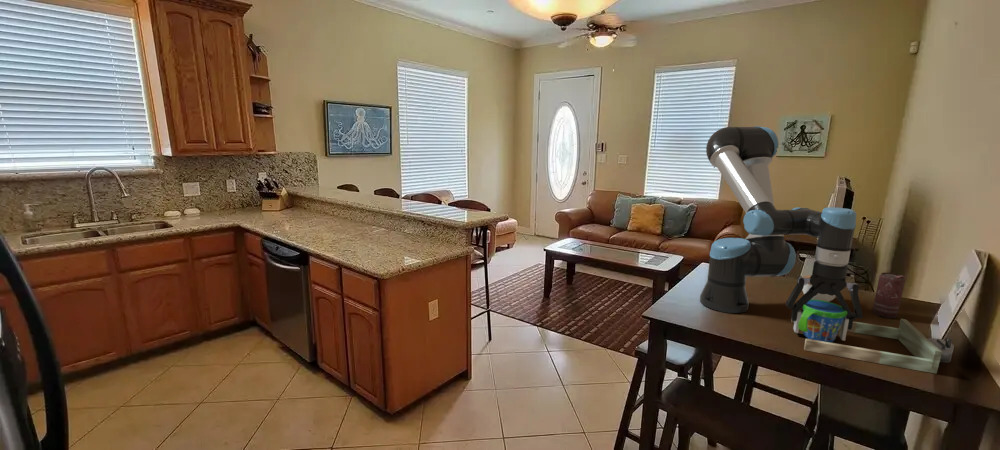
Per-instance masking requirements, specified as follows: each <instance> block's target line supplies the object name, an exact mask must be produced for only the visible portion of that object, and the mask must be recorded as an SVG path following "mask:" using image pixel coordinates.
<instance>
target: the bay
mask: <svg viewBox="0 0 1000 450" xmlns="http://www.w3.org/2000/svg"><path fill="white" fill-rule="evenodd" d="M801 315H802V313H801ZM790 322H791V324H794V322H795V321H792V319H790ZM840 329H841V326H840ZM840 329H839V331H840ZM847 332H849V333H856V334H862V335H868V336H875V337H880V338H887V339H895V340H898V341H899V342H900V343H901V344H902V345H903V346H904V347H905V348H906V349H907V351H909V352H910V354H911V355H907V354H906V355H905V354H900V353H893V352H889V351H882V350H876V349H870V348H865V347H859V346H858V347H857V346H852V345H846V344H841V343H835V342H831V343H829V342H824V341H818V340H812V339H809V338H804V339H805V340H804V346H803V349H804V351H806V352H807V351H808V352H813V353H819V354H825V355H829V356H834V357H841V358H846V359H851V360H852V359H853V360H858V361H863V362H869V363H874V364H881V365H886V366H891V367H897V368H902V369H907V370H914V371H919V372H926V373H930V374H937V373H938V370H939V365H940V363H941V362H940V358H941V354H942V351H940V350H939V349H938V348H937V347H936V346H935V345H934V344H933V343H932V342H931V341H929V340H928V338H927V337H926V336H925V335H924V334H923V333H922V332H920V331H919V329H917V328H916V327H915V326H914V325H913V324H912V323H910V321H908V320H907V319H905V318H900V320H899V324H898V327H894V326H893V327H892V326H886V325H881V324H880V325H879V324H873V323H867V322H866V323H865V322H861V321H858V322H857V321H853V325H852V329H851V330H850V329H847ZM912 355H913V356H912Z"/></svg>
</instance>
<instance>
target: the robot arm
mask: <svg viewBox="0 0 1000 450" xmlns="http://www.w3.org/2000/svg"><path fill="white" fill-rule="evenodd" d="M778 148H779V138H778V136H777V134H776V133H775V131H774V130H773V129H771V128H769V127H765V126H757V125H755V126H725V127H723V128H720V129H718V130H716V131H715V132H714V133H712V135H711V136H710V137H709V139H708V140H707V144H706V148H705V151H706V157H707V159H708V161H709V163H710V164H711V165H712V166H713V167H714V168H717V169H718V171H719V172H720V174H721V176H722V178H723V179H724V181H725V182H726V184H727V185H728V187H729V189H730V191H731V193H733V195H734V197H735V198H736V199H737V202H738V203H739V205H740V206H741V208H742V209H743V210H744V212H745V214H744V216H743V221H742V222H743V223H742V224H744V225H743V227H744V228H743V229H744V230H745V231H746V232H747V233H748V235H747V236H746V237H745V238H742V237H725V238H719V239H716V240H715V241H714V242H713V243H711V247H710V251H709V263H708V270H707V271H708V272H707V273H708V274H707V281H706V283H705V285H704V287H703V289H702V290H701V293H700V294H699V295H700V296H699V303H700V302H701V303H702V304H703V305H702V304H701V305H702V306H704V305H705V306H704V307H706V306H707V307H706V308H708V307H709V308H708V309H710V308H711V310H713V309H714V311H716V310H718V311H717V312H722V313H729V314H741V313H745V312H747V311H748V310H749V307H750V305H749V304H750V303H749V299H748V294H747V289H746V281H747V277H750V278H752V277H778V276H779V277H780V276H785V275H787V274H789V273H790V272H791V271H792V269H793V268H794V266H795V263H796V258H797V257H796V256H797V254H796V251H795V249H794V246H792V244H791V243H790V242H787V241H785V236H789V235H790V236H794V235H795V236H796V235H800V236H802V235H806V236H810V237H813V238H817V243H816V249H815V255H814V259H815V261H813V267H812V273H811V275H812V276H811V277H810V278H803V277H804V276H801V275H799V276H798V277H797V282H796V283H797V284H796V285H795V286H794V288H793V290H792V291H791V293H790V295H789V297H787V299H786V301H785V306H786V308H787V309H790V310H791V316H790V318H791V319H792V321H795V322H794V323H793V331H794V333H796V334H799V330H800V329H799V328H798V323H799V321H800V318H801V314H802V307H803V305H805V304H806V303H807V302H808V301H809V300H811V299H812V298H813V297H814V296H816V295H817V294H818V293H820V294H828V295H832V296H833V295H835V296H836V297H835V298H836V299H837V301H838V303H839V305H840V306H842V308H843V309H844V310H845V311H847V315H846V316H845V317H844V318H843V321H842V323H841V329H840V330H839V335H838V337H839V338H840V340H841V341H844V342H845V341H846V339H847V338H846V337H847V334H848V333H847V332H848V331H847V329H850V330H851V329H852V325H853V322H855V320H856V319H863V317H864V314H863V310H862V307H861V302H860V297H859V289H860V286H859V284H857V283H856V282H855V281H854V282H846V278H847V274H848V268H849V267H848V266H847V265H849V262H850V255H851V250H852V245H853V239H854V234H855V229H856V227H857V223H856V222H857V212H856V211H855V210H853V209H850V208H845V207H844V208H843V207H837V206H836V207H834V206H832V207H831V206H830V207H824V208H823V209H822V211H819V210H818V211H817V210H814V209H810V208H807V207H800V206H799V207H794V208H792V209H777V208H776V206H775V202H774V195H773V188H772V182H771V175H770V169H769V166H770V164H771V163H772V162H773V157H775V156H776V154H777V152H778ZM808 282H810V283H811V285H812V287H811V288H810V289H809V290H808V291H807V292H806V293H805V294H804V293H803V295H802V296H801V297H800V298H799V296H800V295H801V293H802V292H803V290H802V289H803V287H804V285H807V283H808ZM845 288H847V290H848V291H849V294H850V299H851V304H852V307H853V312H852V310H851V309H850V306H849V305H848V303H847V302H846V300H845V298H844V296H843V295H842V293H841V291H842V290H844V289H845ZM798 298H799V299H798ZM797 299H798V300H797ZM791 319H790V320H791Z"/></svg>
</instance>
